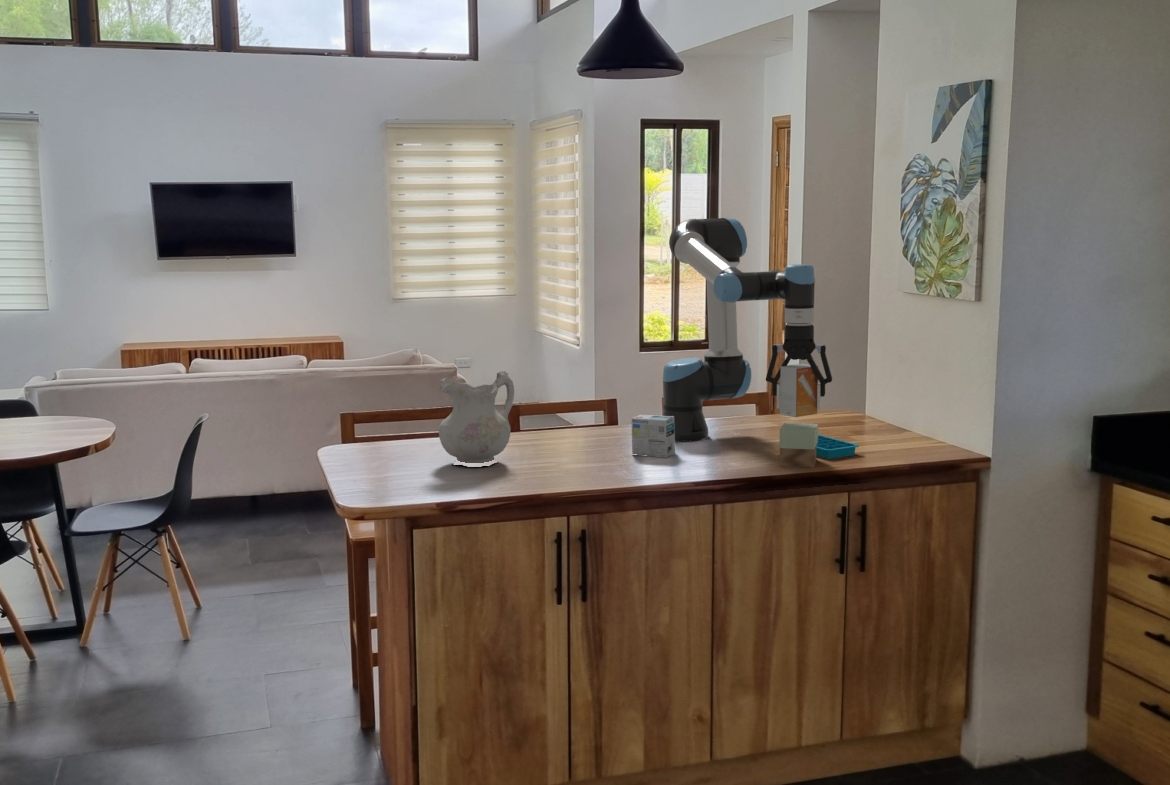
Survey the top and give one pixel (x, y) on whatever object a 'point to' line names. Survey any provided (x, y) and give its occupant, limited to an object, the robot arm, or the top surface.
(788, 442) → the sage block
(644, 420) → the light bulb box
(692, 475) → the top surface
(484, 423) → the ceramic pitcher
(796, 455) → the walnut block
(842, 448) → the ice cube tray
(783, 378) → the small box
